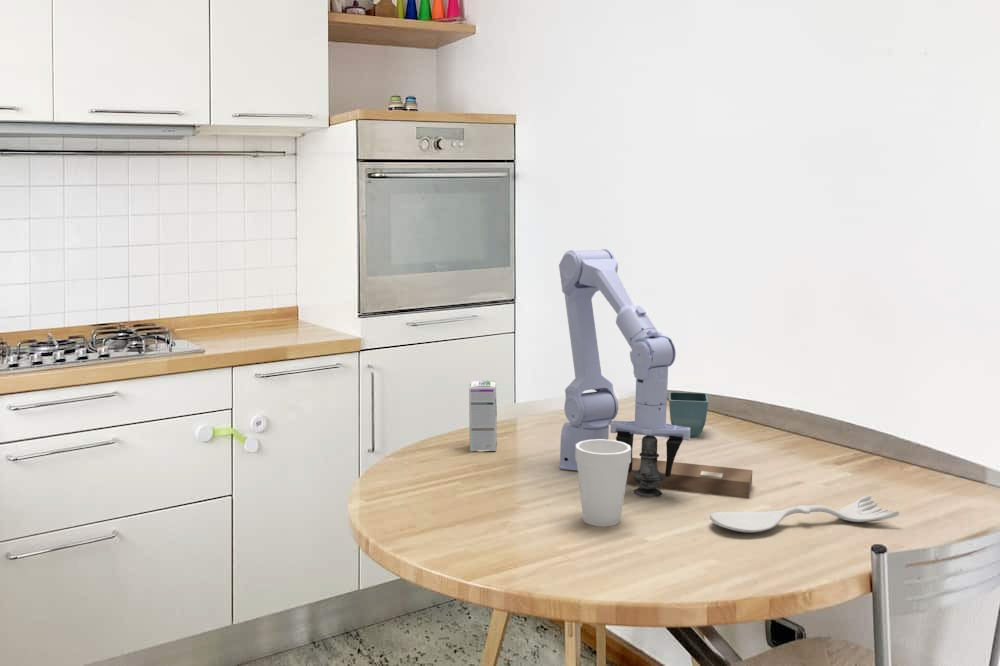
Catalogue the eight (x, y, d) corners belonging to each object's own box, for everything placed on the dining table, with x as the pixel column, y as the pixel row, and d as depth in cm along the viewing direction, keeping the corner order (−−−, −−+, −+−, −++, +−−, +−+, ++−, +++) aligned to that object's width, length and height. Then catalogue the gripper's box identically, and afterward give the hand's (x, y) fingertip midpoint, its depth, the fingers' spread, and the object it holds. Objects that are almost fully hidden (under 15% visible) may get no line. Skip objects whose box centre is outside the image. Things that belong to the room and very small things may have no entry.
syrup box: (496, 452, 201) (496, 386, 198) (468, 452, 201) (469, 385, 198) (496, 445, 206) (497, 380, 204) (469, 444, 206) (470, 380, 204)
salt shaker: (663, 499, 172) (665, 435, 170) (630, 496, 173) (633, 433, 171) (664, 489, 177) (666, 427, 175) (633, 487, 178) (634, 425, 177)
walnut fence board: (620, 483, 180) (620, 466, 180) (628, 471, 188) (628, 455, 187) (748, 498, 173) (749, 480, 172) (751, 485, 180) (752, 468, 180)
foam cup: (564, 514, 163) (566, 442, 161) (611, 507, 167) (613, 437, 165) (590, 533, 155) (592, 457, 153) (639, 525, 158) (641, 451, 156)
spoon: (899, 529, 158) (901, 509, 158) (723, 542, 152) (724, 521, 152) (868, 511, 167) (870, 492, 167) (700, 522, 161) (701, 503, 160)
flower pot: (667, 438, 213) (669, 399, 212) (667, 428, 222) (668, 391, 220) (706, 440, 212) (708, 401, 210) (705, 430, 220) (706, 393, 219)
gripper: (607, 403, 171) (605, 475, 173) (687, 410, 166) (684, 483, 168) (615, 395, 178) (613, 464, 180) (693, 401, 173) (690, 472, 175)
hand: (648, 473), depth 174 cm, fingers open, 7 cm apart
